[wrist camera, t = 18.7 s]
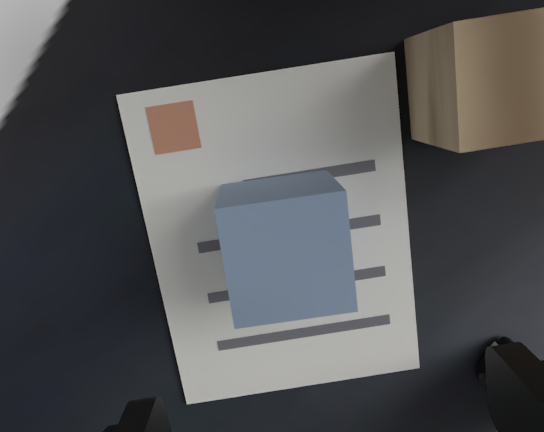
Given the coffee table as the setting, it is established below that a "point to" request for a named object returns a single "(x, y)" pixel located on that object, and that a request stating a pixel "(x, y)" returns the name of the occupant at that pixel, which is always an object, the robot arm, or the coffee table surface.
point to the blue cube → (286, 248)
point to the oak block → (478, 82)
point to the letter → (264, 164)
